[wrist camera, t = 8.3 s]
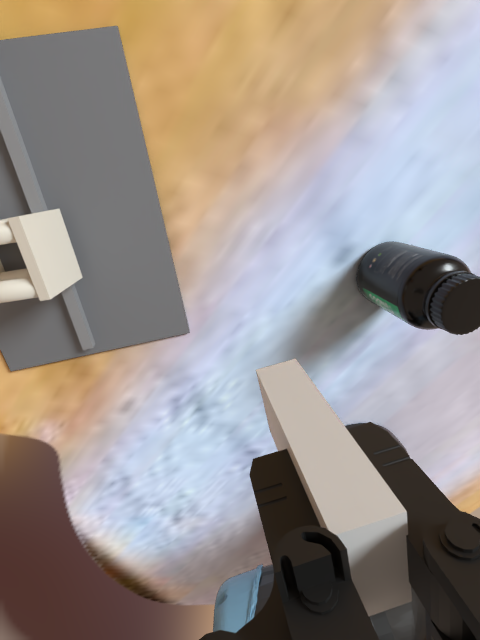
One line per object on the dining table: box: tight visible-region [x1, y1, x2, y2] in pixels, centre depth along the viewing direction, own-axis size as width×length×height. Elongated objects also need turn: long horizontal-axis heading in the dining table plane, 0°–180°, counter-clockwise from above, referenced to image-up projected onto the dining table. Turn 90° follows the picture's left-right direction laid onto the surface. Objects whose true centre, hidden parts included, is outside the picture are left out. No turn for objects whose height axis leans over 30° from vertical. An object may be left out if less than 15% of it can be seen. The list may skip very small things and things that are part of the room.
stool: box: [0, 209, 83, 303], centre depth 28 cm, size 6×6×9 cm
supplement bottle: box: [357, 242, 480, 335], centre depth 33 cm, size 7×7×12 cm
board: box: [0, 26, 190, 371], centre depth 30 cm, size 26×18×1 cm
